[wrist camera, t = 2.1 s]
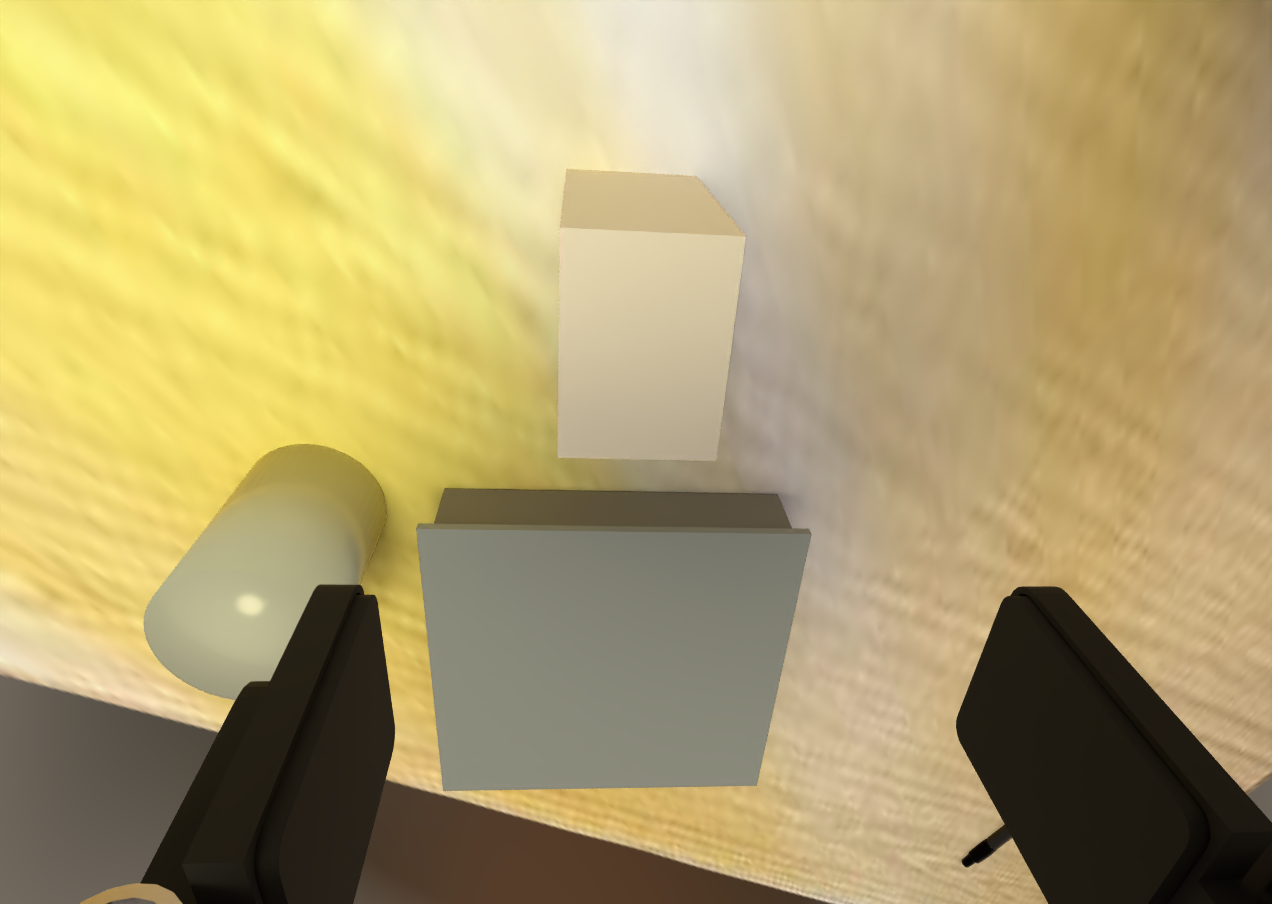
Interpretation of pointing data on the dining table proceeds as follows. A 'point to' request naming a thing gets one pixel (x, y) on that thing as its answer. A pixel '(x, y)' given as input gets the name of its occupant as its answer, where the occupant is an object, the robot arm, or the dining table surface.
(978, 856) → the pen
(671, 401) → the carton
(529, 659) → the podium
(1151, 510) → the dining table surface
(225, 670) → the grey cylinder
